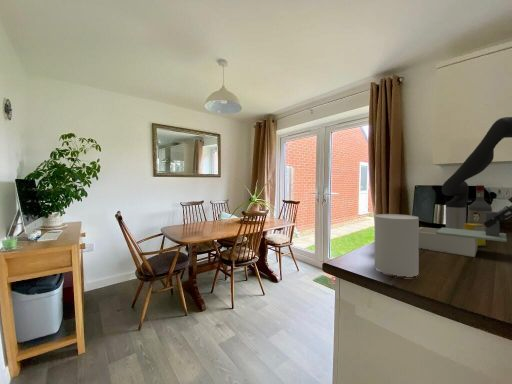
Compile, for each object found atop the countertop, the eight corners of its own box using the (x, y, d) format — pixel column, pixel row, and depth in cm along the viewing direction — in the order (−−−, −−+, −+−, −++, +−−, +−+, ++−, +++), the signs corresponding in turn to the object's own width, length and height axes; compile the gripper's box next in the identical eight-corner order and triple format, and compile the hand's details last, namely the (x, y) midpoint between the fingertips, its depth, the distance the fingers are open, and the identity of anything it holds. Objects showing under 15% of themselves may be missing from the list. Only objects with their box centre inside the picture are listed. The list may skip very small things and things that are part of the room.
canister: (420, 281, 72) (420, 220, 72) (373, 273, 79) (373, 217, 79) (416, 268, 83) (416, 215, 83) (376, 262, 91) (375, 213, 90)
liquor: (473, 230, 147) (474, 185, 146) (492, 233, 139) (493, 185, 138) (466, 232, 143) (467, 185, 142) (486, 234, 135) (486, 185, 134)
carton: (413, 247, 111) (413, 231, 111) (420, 241, 122) (420, 227, 122) (474, 257, 95) (474, 238, 95) (477, 249, 106) (477, 232, 105)
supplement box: (475, 244, 115) (475, 223, 115) (485, 247, 109) (486, 225, 109) (462, 243, 116) (462, 223, 116) (472, 247, 110) (472, 225, 110)
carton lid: (436, 233, 104) (436, 210, 104) (442, 229, 115) (442, 208, 115) (506, 241, 88) (507, 214, 88) (506, 235, 99) (506, 211, 98)
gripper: (518, 191, 95) (478, 217, 104) (520, 192, 86) (476, 220, 95) (538, 204, 91) (494, 229, 100) (543, 206, 82) (494, 234, 91)
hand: (485, 225), depth 98 cm, fingers closed on carton lid, 3 cm apart
